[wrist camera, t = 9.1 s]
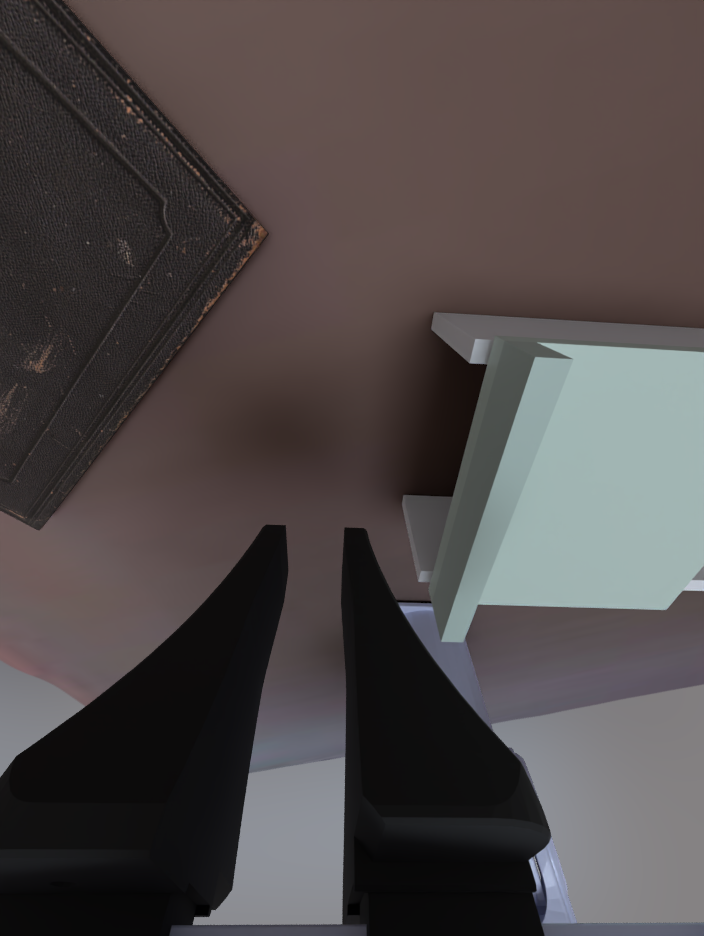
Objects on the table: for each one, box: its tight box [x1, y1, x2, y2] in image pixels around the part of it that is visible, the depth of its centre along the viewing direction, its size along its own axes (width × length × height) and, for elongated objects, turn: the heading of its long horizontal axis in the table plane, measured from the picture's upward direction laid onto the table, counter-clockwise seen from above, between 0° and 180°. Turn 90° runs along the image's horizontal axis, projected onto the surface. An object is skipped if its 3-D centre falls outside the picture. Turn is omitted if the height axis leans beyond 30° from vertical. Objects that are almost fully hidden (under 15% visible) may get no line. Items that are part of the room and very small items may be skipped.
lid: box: [428, 335, 704, 642], centre depth 13 cm, size 12×12×3 cm
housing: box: [402, 312, 704, 591], centre depth 18 cm, size 12×26×6 cm, turn 87°
